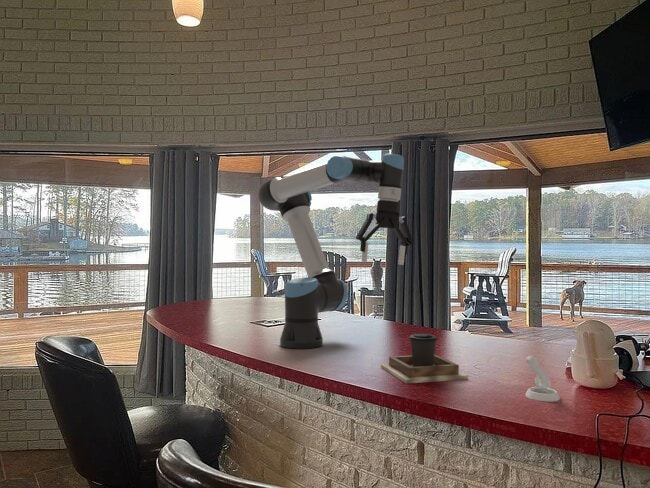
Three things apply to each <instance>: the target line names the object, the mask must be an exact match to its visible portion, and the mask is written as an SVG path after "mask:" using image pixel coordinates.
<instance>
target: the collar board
mask: <svg viewBox="0 0 650 488" xmlns="http://www.w3.org/2000/svg"><path fill="white" fill-rule="evenodd" d="M388 358H389V359H388V363H381V364H380V368H381V369H382V370H384V371H385V372H387V373H388V374H390V375H392V376H393V377H395V378H396V379H398V380H399V381H401V382H403V383H405V384H417V383H420V384H421V383H422V384H423V383H432V382H433V383H435V382H436V383H437V382H447V381H459V380H469V375H467V374H466V373H464V372H462V371H460V369H459V368H460V367H459V364H457V363H455V362H453V361H451V360H448V359H447V358H444V357H442V356H440V355H437V354H435V356H434V364H433V366H419V367H413V359H412V354H411V355H400V356H399V355H396V356H394V355H393V356H389V357H388Z"/></svg>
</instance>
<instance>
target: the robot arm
mask: <svg viewBox="0 0 650 488" xmlns="http://www.w3.org/2000/svg"><path fill="white" fill-rule="evenodd" d="M404 162H405V160H404V157H403V156H402V155H401V154H396V153H384V154H382V156H381V159H380V160H367V159H361V158H355V157H350V156H346V155H333V156H331V157H330V158H329V159H328V160H327V162H324V163H322V164H319V165H316V166H313V167H310V168H308V169H305V170H302V171H299V172H296V173H293V174H290V175H287V176H284V177H282V178H281V177H279V176H277V177H276V176H275V177H273V178H270V179H268V180H266V181H264V182H262V184H261V185H260V186H259V188H258V192H257V196H258V201H259V202H260V204H261V205H262V207H264V208H265V209H266V210H270V211H274V212H275V211H277V212H279V213H280V215H281V219H282V220H283V221H285V222H287V223H288V225H289V229H290V231H291V234H292V237H293V239H294V242H295V245H296V248H297V250H298V254H299V255H300V258H301V261H302V264H303V267H304V270H305V271H306V272H305V273H306V275H307V277H299V278H298V277H297V278H292V279H290V280H287V282H286V283H285V287H284V288H285V289H284V316H285V317H284V325H283V328H282V331H281V335H280V339H279V345H280V346H281V347H282V348H287V349H296V350H297V349H298V350H299V349H301V350H303V349H304V350H305V349H315V348H319V347H322V346H323V345H324V342H323V341H324V339H323V335H322V331H321V329H320V325H319V313H320V314H321V313H326V312H334V311H337V310H340V309H341V308H343V307H344V306H345V305H346V303H347V299H348V298H349V289H348V286H347V284H346V283H345V282H344V280H342V279H340V278H338V277H337V274H336V271H335V270H333V269H330V267H329V265H328V261H327V260H326V257H325V254H324V252H323V248H322V245H321V244H320V241H319V238H318V236H317V233H316V231H315V228H314V226H313V222H312V220H311V217H310V214H309V213H310V211H311V206H312V200H313V199H312V198H313V197H312V193H311V192H312V191H315V190H318V189H320V188H324V187H328V186H330V185H331V186H332V185H334V184H337V183H340V182H343V181H353V182H355V183H360V184H361V183H362V184H365V183H374V184H375V183H377V184H378V183H379V186H378V194H377V195H378V196H377V199H378V200H377V203H376V204H377V205H376V213H373V212H368V213H367V214H366V219H365V220H364V223H363V224H362V226H361V228H360V229H359V231H358V233H357V234H356V236H355V240H358V241H360V248H359V251H360V252H362V253H361V262H363V263H367V262H368V251H369V242H368V241H369V239H370V238H371V237H372V236H373V235H374V234H375V233H376V232H377V231H378V230H379V229H380V228H382V229H385V228H386V229H391V230H392V231H393V232H394V234H395V236H396V237H397V239H398V240H399V241H400V243H401V244H402V245H399V252H398V253H399V254H398V260H397V261H398V262H397V265H400V266H404V263H405V256H408V255H407V254H408V248H409V246H411V245H413V244H414V240H413V237H412V235H411V234H412V233H411V231H410V228H409V225H408V217H407V216H399V214H400V206H401V203H400V202H399V201H400V200H401V194H402V193H401V192H402V183H403V175H404V170H405V169H404V164H405V163H404ZM374 220H375V221H376V222H375V223H374V224H373V226H372V227H371V228H369V227H370V225H371V224H372V222H373V221H374ZM398 222H399V223H400V225H401V229H402V231H401V229H400V226H399V225H398V224H397V223H398ZM368 229H369V230H368Z"/></svg>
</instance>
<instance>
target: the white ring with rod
mask: <svg viewBox="0 0 650 488" xmlns="http://www.w3.org/2000/svg"><path fill="white" fill-rule="evenodd" d="M525 360H526V362H527V363H528V365H529V367H530V368H531V369H532V371H533V372H534V373H535V375H536V376H535V378H534V383H535V386H531V387H528V389H527V391H526V392H525V397H526V398H528V399H530V400H533V401H539V402H547V403H549V402H551V403H552V402H557V401H560V400H561V397H560V395H559V393H558V391H557V390H555V389H553V388H551V386H552V381H551V379H550V377H549V376H548V374H547V373H546V371H545V370H544V368H543V367H542V366H541V365H540V364H539V361H538V360H537V359H536V358H535V357H534V356H532V355H528V356H526V358H525Z"/></svg>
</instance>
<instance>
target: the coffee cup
mask: <svg viewBox="0 0 650 488" xmlns="http://www.w3.org/2000/svg"><path fill="white" fill-rule="evenodd" d="M408 339H409V341H410V348H411V355H412V359H413V367H419V366H433V364H434V356H435V355H436V347H437V346H436V345H437V340H439V339H438V337H437V336H436V335H434V334H430V333H424V332H423V333H421V332H419V333H414V334H410V335H409V336H408Z"/></svg>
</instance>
